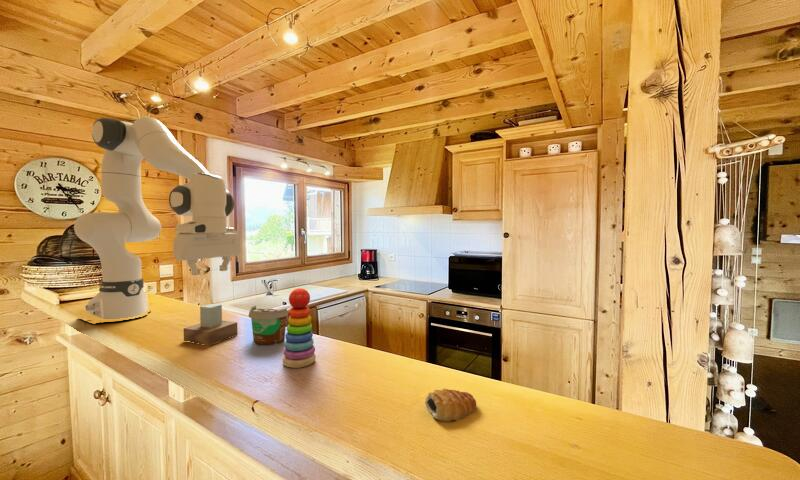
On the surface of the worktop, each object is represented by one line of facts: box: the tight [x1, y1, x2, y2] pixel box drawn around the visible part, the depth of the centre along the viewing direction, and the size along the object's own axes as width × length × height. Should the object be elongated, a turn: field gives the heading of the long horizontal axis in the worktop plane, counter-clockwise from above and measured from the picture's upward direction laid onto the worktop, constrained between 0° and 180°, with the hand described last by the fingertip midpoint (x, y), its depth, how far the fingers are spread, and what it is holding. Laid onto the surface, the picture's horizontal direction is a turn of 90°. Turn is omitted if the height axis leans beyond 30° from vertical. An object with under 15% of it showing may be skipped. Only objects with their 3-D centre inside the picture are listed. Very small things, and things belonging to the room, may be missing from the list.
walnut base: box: [183, 320, 238, 347], centre depth 97 cm, size 10×10×4 cm
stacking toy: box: [282, 287, 317, 369], centre depth 80 cm, size 8×8×19 cm
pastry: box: [424, 388, 478, 423], centre depth 59 cm, size 9×7×4 cm
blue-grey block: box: [199, 303, 223, 328], centre depth 97 cm, size 4×4×6 cm
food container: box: [248, 305, 289, 347], centre depth 93 cm, size 12×6×10 cm, turn 73°
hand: (210, 272), depth 97 cm, fingers open, 8 cm apart
